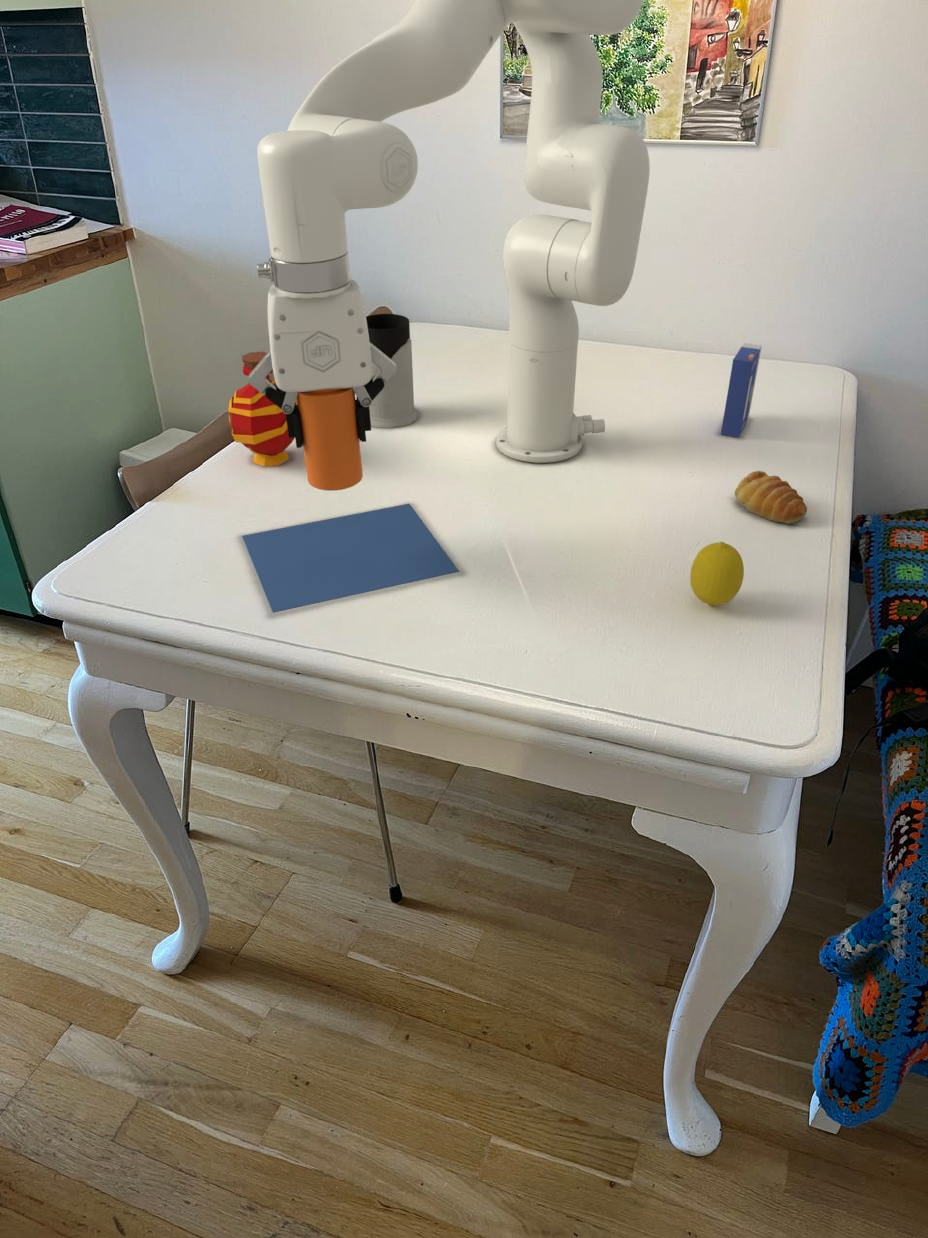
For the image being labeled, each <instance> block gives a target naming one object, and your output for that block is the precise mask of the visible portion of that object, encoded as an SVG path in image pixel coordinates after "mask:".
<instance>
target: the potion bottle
mask: <svg viewBox="0 0 928 1238" xmlns="http://www.w3.org/2000/svg"><path fill="white" fill-rule="evenodd" d="M267 353H268V352H265V351H251V352H248V353H246V354H243V355H242V356H241V360H242V362H243V366H242V373H243V375H244V376H248V377H249V374H250V373H251V372H252V371H253V369H254V368H255V367H256V366H257V365H258V364H259V362H260V361H261V360H262V359H263V358H264V356H265V355H266V354H267ZM272 374H274V373H273V370H272V371H271V372H270V373H269V374H268V375H267V377H266V379H267V380H268V381H269V382H270V383H272V384H274V385H276V382H275V380H273V379H271V378H270V375H272ZM276 386H277V385H276ZM282 391H283V390H282ZM296 405H298V404H297V399H296ZM227 413H228V420H229V426H230V428H231V436H232V438H233V440H234V442H235V443H238V444H239V443H241V444H242V446H244V447H245V448H246V449H249V452H251V453H253V454H254V455H253V464H256V465H259V466H262V467H273V466H275V467H276V466H280V465H282V464H284V463H285V462H287V461H289V453H288V452H287V451H286V450H287V448H288V447H289V446H290V445H291V444H292V443H293V442H294V440H295V438H289V435H288V428H287V421H286V414H285V413H284V412H283V411H282V409H281V408H279V407H278V406H277V405H275V404H274V403H273V402H271V401H270V400H269V399H267V398H266V396H265V395H264V394H262V393H260V392H259V391H258V390H257V389H255V388H254V387H253V386H251V385H250V384H249V382H248V383H247V384H245V385H244V386H241V387H239V388H238V389H236V390H235V392H234V395H233V396H230V399H229V403H228V411H227Z"/></svg>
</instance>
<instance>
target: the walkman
mask: <svg viewBox="0 0 928 1238" xmlns="http://www.w3.org/2000/svg"><path fill="white" fill-rule="evenodd" d="M762 347H763V346H762V345H760V344H754V343H748V342H743V344H741V347H740V348H739V350H738V352H737V353H736V354H735V356H734V357H733V359H732V364H731V369H730V370H731V371H730V375H729V376H730V377H729V383H728V388H727V393H726V394H727V395H726V400H725V407H724V413H723V419H722V424H721V431H720V435H721V436H727V437H732V438H738V439H739V438H740V437H741V434H742V433H743V431H744V429H745V427H746V426H747V424H748V421H749V418H750V413H751V408H752V407H751V406H752V402H753V397H754V392H755V391H754V389H755V385H756V380H757V374H758V369H759V363H760V358H761V354H762V353H761V352H762Z"/></svg>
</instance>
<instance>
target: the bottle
mask: <svg viewBox="0 0 928 1238" xmlns="http://www.w3.org/2000/svg"><path fill="white" fill-rule="evenodd" d="M356 400H357V399H356V394H355V392H354V391H353V389H352V388H342V389H331V390H319V391H307V392H299V393H298V396H297V404H298V410H299V418H300V425H301V433H302V440H303V446H302V447H303V455H304V462H305V468H306V476H307V481H308V484H309V485H310V486H311V487H313V488H314V489H317V490H321V491H328V492H329V491H330V492H331V491H341V490H342V491H343V490H346V489H349V488H352V487H355V486H356V485H357V484H359V483H360V482H361V481H362V479H363V465H362V463H363V462H362V453H361V444H360V443H361V441H360V440H359V432H358V422H357V411H356Z"/></svg>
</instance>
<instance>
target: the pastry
mask: <svg viewBox="0 0 928 1238" xmlns="http://www.w3.org/2000/svg"><path fill="white" fill-rule="evenodd" d="M734 497H735V499H736V500H737V502H738V503H739V506H740V507H742V506H743V507H744V508H745V509H746V511H749V512H751V513H752V514H755V515H758V516H760V518H765V519H766V520H769V521H772V522H776V523H784V524H788V525H789V524H794V523H796V522H798V521H802V520H803V519H804V517H805V516H806V514H807V513H808V506H807V505H806V503H805V501H804V498H803V497H802V496H801V495H800V494H799V493H798V491H797V489H795V488H793V487H792V486H791V485H790V484H789V482H788V481H787V480H782V479H781V478H780V476H778V475H768V474H767V472H766V471H761V470H755V471H752V472H750V473H749V474H747V475H746V476H745V477H743V478H742V479H741V480H740V482H739V483H738V485H737V487H736V488H735V489H734Z"/></svg>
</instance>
